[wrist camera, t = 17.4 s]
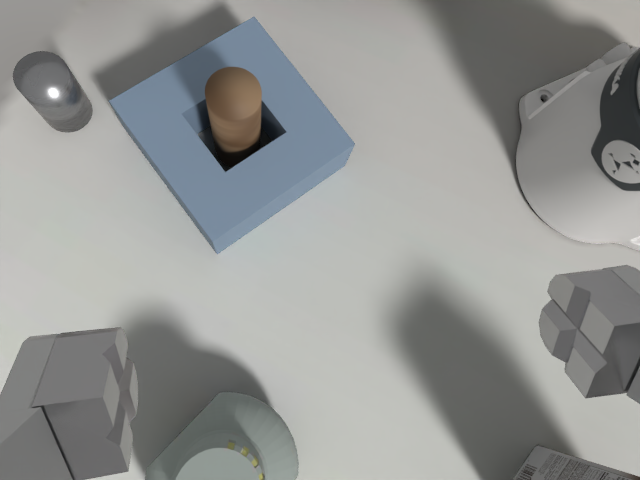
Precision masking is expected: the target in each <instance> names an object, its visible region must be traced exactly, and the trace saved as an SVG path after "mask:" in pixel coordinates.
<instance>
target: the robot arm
mask: <svg viewBox="0 0 640 480" xmlns="http://www.w3.org/2000/svg"><path fill="white" fill-rule="evenodd" d="M540 98H542V99H543V100H544V101H545V102H542V101H541V99H540ZM519 114H520V120H521V125H522V129H521V135H520V139H519V143H518V147H517V153H516V168H517V175H518V179H519V183H520V186H521V189H522V191H523V193H524V195H525V197H526V199H527V201H528V203H529V204H530V206H531V207H532V208H533V210H534V211H535V212H536V213H537V215H538V216H539V217H540V218H541V219H542V220H543V221H544V222H545V223H547V224H548V225H549V226H550V227H552V228H553V229H554V230H556V231H557V232H559V233H561V234H563V235H565V236H567V237H569V238H571V239H574V240H577V241H581V242H586V243H593V244H603V243H618V244H622V245H624V246H627V247H630V248H632V249H635V250H639V251H640V48H639V47H633V48H630V47H629V46H628V44H627V43H625V42H623V43H621V44H619V45H617V46H615V47H614V48H612V49H611V50H609V51H608V52H607V53H605V54H604V55H603V56H602V59H601V58H600V59H598V60H596V61H594V62H593V63H591V64H590V65H588V66H587V67H586V68H584V69H581V70H579V71H577V72H574V73H572V74H570V75H568V76H565V77H563V78H561V79H558V80H556V81H554V82H551V83H549V84H547V85H545V86H542V87H540V88H538V89H535V90H533V91H531V92H529V93H527V94H526V95H525V96H523V97H522V98H521V99H520V102H519ZM547 292H548V294H549V296H550V297H551V299H552V300H551V301H550V302H549V303H548V304H547V305H546V306H545V307H544V308H543V309H542V311H541V315H540V319H539V328H540V335H541V338H542V340H543V342H544V345H545V346H546V348H547V349H548V350H549V352H550V353H551V355H553V356H555V357H557V358H558V359H560V360H562V361H564V362H566V363H565V373H566V374H567V375H568V377H569V378H570V379H571V381H572V382H573V383H574V384H575V386H576V387H577V388H578V390H579V391H580V392H581V393H582V395H583V396H584V397H585V398H592V397H599V396H607V395H615V394H622V393H627V396H628V397H630V398H632V399H633V400H635V401H636V402H638V403H639V404H640V271H639V270H637V269H636V268H634V267H631V266H628V265H624V266H617V267H610V268H603V269H599V270H591V271H583V272H575V273H567V274H559V275H555V277H554V278H553V279H552V280H551V281H550V284H549V287H548V290H547ZM127 350H128V341H127V338H126V335H125V331H124V330H123V329H122V328H121V327H117V328H107V329H97V330H87V331H77V332H66V333H61V334H51V335H41V336H31V337H29V338H27V339H26V340H25V341H24V342H23V343H22V346H21V348H20V350H19V353H18V355H17V357H16V360H15V362H14V364H13V366H12V369H11V371H10V373H9V376H8V378H7V380H6V383H5V385H4V387H3V390H2V392H1V394H0V480H85V479H91V478H96V477H101V476H107V475H112V474H117V473H123V472H128V471H129V464H130V457H131V450H132V444H133V434H132V430H131V427H130V424H129V423H130V422H131V421H132V420H133V419H134V417H135V416H136V415H137V407H138V381H137V374H136V370H135V366H134V362H132V361H131V360H129V359H128V358H127V357H126V356H127Z"/></svg>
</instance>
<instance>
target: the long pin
mask: <svg viewBox="0 0 640 480" xmlns="http://www.w3.org/2000/svg"><path fill="white" fill-rule="evenodd" d="M205 98H206V103H207V108H208V114H209V119H210V124H211V130H212V135H213V140H214V146H215V151H216V154H217V156H218V158H219V159H220V160H221V162H223V163H224V164H225V165H227V166H229V167H234V166H236V165H237V164H239V163H240V162H242V161H243V160H245V159H246V158H248V157H249V156H251V155H252V154H254V153H255V152H257V151H258V150H260V137H261V101H262V90H261V86H260V83H259V81H258V80H257V78H256V77H255V76H254V75H253V74H252V73H251V72H249V71H247V70H246V69H243V68H240V67H225V68H222V69H219V70H217V71H216V72H214V73H213V74H212V75H211V76H210V77H209V79H208V81H207V83H206V86H205Z"/></svg>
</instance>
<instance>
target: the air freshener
mask: <svg viewBox="0 0 640 480" xmlns="http://www.w3.org/2000/svg"><path fill="white" fill-rule="evenodd" d="M298 465H299V463H298V455H297V449H296V446H295V443H294V439H293V437H292V435H291V433H290V431H289V429H288V427H287V425H286V424H285V422H284V421H283V419H282V418H281V417H280V416H279V415H278V414H277V413H276V412H275V411H274V410H273V409H272V408H271V407H270V406H268V405H267V404H265V403H264V402H263V401H261V400H258V399H256V398H254V397H252V396H249V395H245V394H242V393H234V392H220V393H219V394H218V395H217V396H216V397H215V398H214V399H213V400H212V401H211V402H210V403H209V404H208V405H207V406H206V407H205V408H204V409H203V410H202V411H201V412H200V413H199V414H198V415H197V416H196V417H195V419H194V420H193V421H192V422H191V423H190V424H189V425H188V426H187V427H186V428H185V429H184V430H183V431H182V432H181V433H180V434H179V435H178V436H177V437H176V438H175V439H174V440H173V441H172V442H171V443H170V444H169V446H168V447H167V448H166V449H165V450H164V451H163V452H162V453H161V454H160V455H159V456H158V457H157V458H156V459H155V460H154V461H153V462H152V463H151V464H150V465H149V466H148V467H147V468H146V477H145V480H295V479H296V478H297V475H298Z"/></svg>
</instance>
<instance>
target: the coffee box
mask: <svg viewBox="0 0 640 480" xmlns="http://www.w3.org/2000/svg"><path fill="white" fill-rule="evenodd" d="M512 480H640V477H638V476H635V475H632V474H629V473H625V472H622V471H619V470H616V469H612V468H609V467H606V466H603V465H599V464H596V463H593V462H590V461H587V460H584V459H580V458H577V457H574V456H571V455H568V454H565V453H561V452H558V451H555V450H552V449H548V448H545V447H542V446H538V445H537V446H535V448H534V449H533V451H532V452H531V453H530V455H529V456H528V458H527V459H526V461H525V462H524V464H523V465H522V466H521V468H520V469H519V471H518V472H517V474H516V475H515V477H514V478H513V479H512Z"/></svg>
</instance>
